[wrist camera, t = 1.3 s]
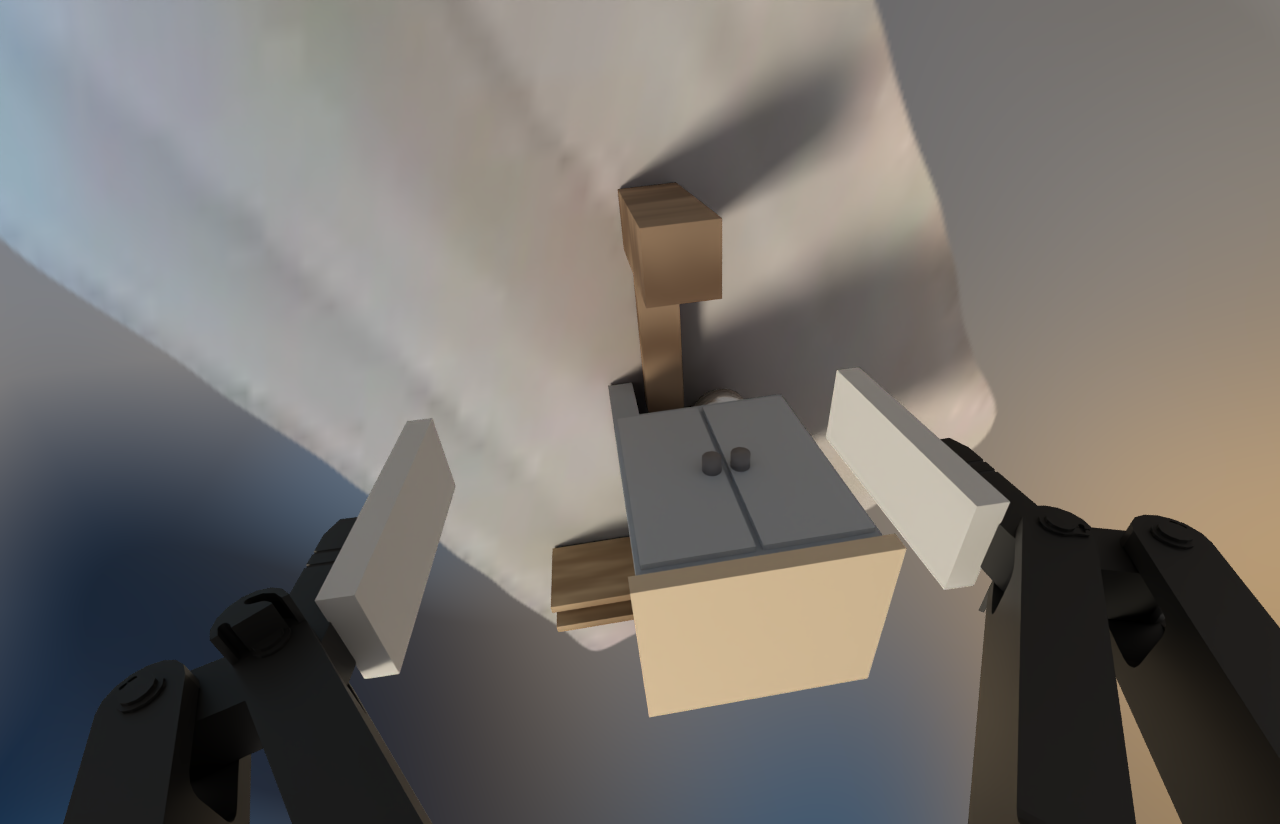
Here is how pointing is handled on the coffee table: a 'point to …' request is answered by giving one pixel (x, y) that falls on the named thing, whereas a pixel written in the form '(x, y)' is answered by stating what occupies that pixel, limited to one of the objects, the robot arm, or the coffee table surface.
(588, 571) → the stand
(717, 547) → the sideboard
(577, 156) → the coffee table surface
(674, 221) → the wooden block
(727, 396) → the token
